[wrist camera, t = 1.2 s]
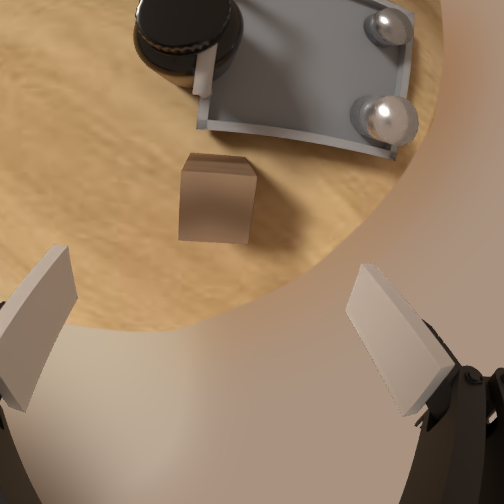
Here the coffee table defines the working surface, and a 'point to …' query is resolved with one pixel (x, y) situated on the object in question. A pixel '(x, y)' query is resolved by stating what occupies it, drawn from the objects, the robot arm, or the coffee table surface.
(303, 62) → the grey tray with handle
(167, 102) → the coffee table surface
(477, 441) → the robot arm
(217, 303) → the coffee table surface
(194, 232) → the walnut block
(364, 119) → the silver rounded piece
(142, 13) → the supplement bottle
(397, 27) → the silver metal dome
